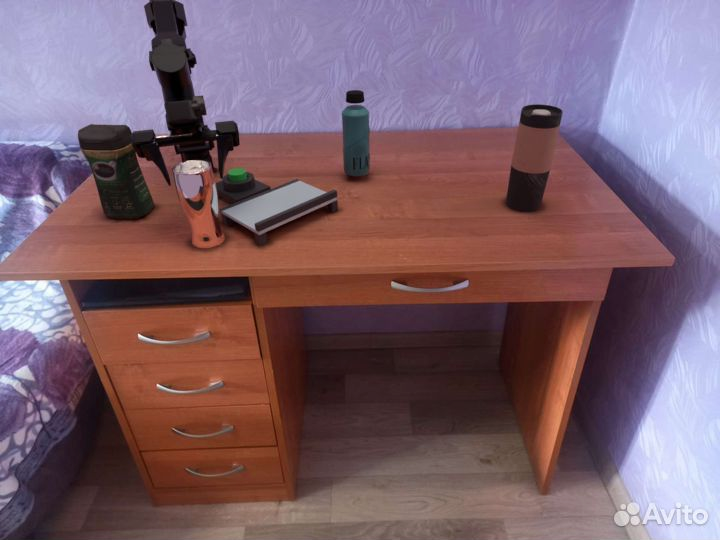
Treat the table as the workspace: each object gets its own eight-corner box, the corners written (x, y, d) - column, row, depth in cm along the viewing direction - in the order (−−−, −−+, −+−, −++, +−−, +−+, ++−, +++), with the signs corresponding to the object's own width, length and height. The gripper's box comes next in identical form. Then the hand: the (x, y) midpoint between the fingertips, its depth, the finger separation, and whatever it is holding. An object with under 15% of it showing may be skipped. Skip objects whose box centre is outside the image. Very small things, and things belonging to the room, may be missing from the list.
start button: (225, 179, 106) (224, 171, 105) (240, 173, 108) (239, 166, 107) (235, 184, 103) (234, 176, 102) (250, 178, 106) (249, 171, 105)
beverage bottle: (350, 184, 111) (348, 96, 100) (338, 174, 116) (335, 89, 105) (375, 179, 113) (375, 92, 102) (362, 169, 118) (361, 86, 107)
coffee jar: (160, 204, 104) (136, 119, 93) (142, 221, 97) (114, 132, 87) (119, 202, 105) (91, 118, 94) (98, 219, 98) (66, 131, 88)
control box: (210, 193, 108) (206, 177, 106) (243, 181, 114) (240, 165, 111) (238, 208, 102) (235, 191, 100) (271, 194, 107) (269, 178, 105)
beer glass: (217, 251, 87) (200, 175, 79) (183, 248, 89) (162, 172, 80) (233, 232, 93) (219, 160, 85) (200, 229, 94) (183, 157, 86)
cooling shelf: (222, 223, 97) (218, 203, 94) (298, 191, 108) (296, 173, 106) (260, 246, 89) (257, 225, 86) (338, 210, 100) (337, 190, 98)
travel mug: (542, 199, 103) (563, 105, 92) (541, 214, 97) (563, 117, 86) (506, 194, 105) (522, 102, 94) (503, 209, 100) (520, 113, 88)
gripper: (115, 84, 80) (130, 170, 77) (228, 75, 84) (246, 155, 82) (132, 118, 90) (145, 195, 88) (231, 108, 95) (247, 180, 92)
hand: (195, 181), depth 87 cm, fingers open, 9 cm apart
